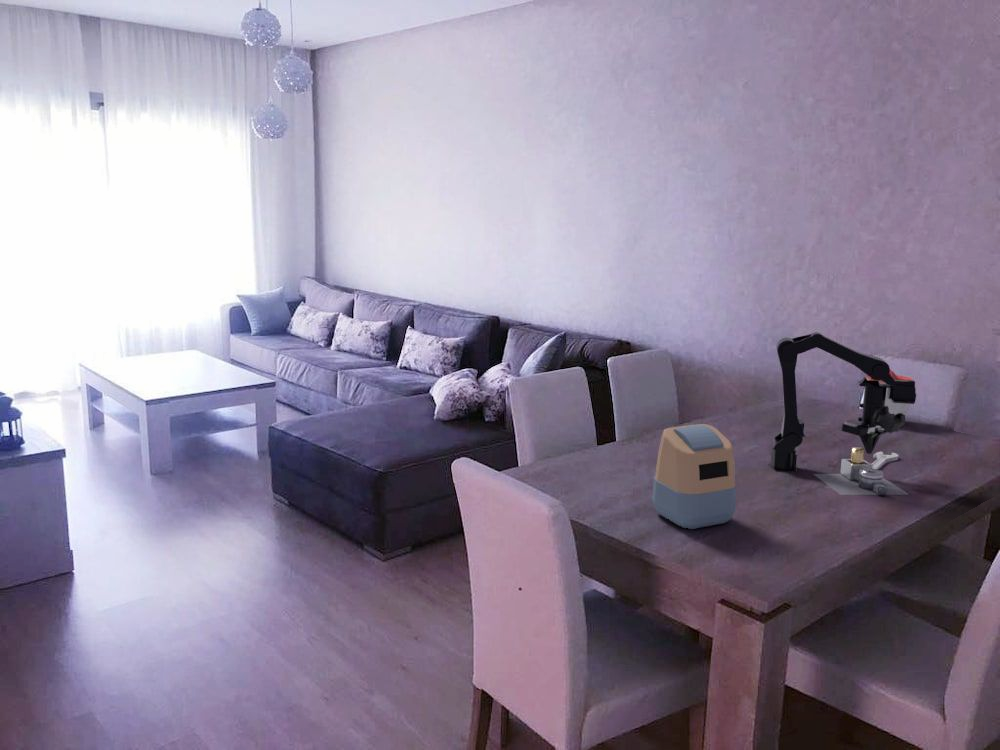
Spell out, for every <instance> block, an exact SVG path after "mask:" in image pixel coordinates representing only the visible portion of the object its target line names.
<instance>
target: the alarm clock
mask: <svg viewBox="0 0 1000 750" xmlns="http://www.w3.org/2000/svg"><path fill="white" fill-rule="evenodd" d="M659 443H660V444H659V447H658V453H657V461H656V468H655V475H654V477H653V486H652V499H651V502H652V505H653V507H654V508H653V509H655V510H656V511H657V513H658V514H659V515H660V516H661V517H663V518H665V519H667V520H668V519H669V521H670V522H672V523H674V524H675V525H677V526H679V527H680V526H681V527H680V528H684V529H686V528H688V529H687V530H695V529H698V528H699V529H700V528H704V527H710V526H714V525H716V526H717V525H723V524H725V523H727V522H729V521H730V520H731V519H732V518H733V516H734V513H735V511H736V498H737V494H736V493H737V485H736V479H735V478H736V475H735V474H736V473H735V471H736V470H735V454H734V449H733V444H732V443H731V441H730V440H729V439H728V438H727V437H726V436H724V435H723V434H722V432H720V431H719V430H718V429H717V428H716V427H714V426H713V425H710V424H706V423H698V424H697V423H696V424H690V425H682V426H681V425H680V426H673V427H668V428H664V430H663V431H662V433H661V438H660V442H659Z"/></svg>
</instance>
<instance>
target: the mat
mask: <svg viewBox="0 0 1000 750" xmlns="http://www.w3.org/2000/svg"><path fill="white" fill-rule="evenodd" d="M813 476H815V477H816V478H817V479H819V480H820V481H822V482H823V483H824V484H825V485H826V486H828V487H829V488H831V489H832V490H833V491H835V492H836V493H837V494H839V495H840V496H877V495H879V494H877V493H876V492H875V491H870V490H865V489H862V488H860V487H858V482H859V481H857V480H850V479H848V478H847V477H846V476H844V475H843V474H841V473H813ZM882 485H883V486H884V487H886V488H887V495H886V496H888V495H891V496H893V495H894V496H895V495H896V496H897V495H901V496H902V495H909V493H908V492H907V491H906V490H903V489H902V488H900V487H898V486H897V485H896V484H894V483H892V481H890V480H887V479H886V478H884V477H883V480H882ZM879 496H880V495H879Z"/></svg>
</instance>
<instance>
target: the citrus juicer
mask: <svg viewBox="0 0 1000 750" xmlns="http://www.w3.org/2000/svg"><path fill="white" fill-rule="evenodd" d="M890 375H891V376H892V377H893V378H894V380H914V379H913V378H910V377H907V376H903V375H897V374H896V373H895V372H894V371H893V370H892V369H890ZM865 377H866V379H867V380H874V379H872V378H871V377H870V376H868V375H867V374H866V376H865ZM878 381H879V383H881V384H886V383H885V382H883V381H882V380H878ZM887 392H888V388H887V389H886V399H885V406H888V408H889V413H891V414H895V415H896V414H898V413H902V414H904V415H905V419H906V418H907V415H908V413H909V410H910V405H911V404H904V403H892V402H891V399H888V397H887ZM895 415H894V416H895Z"/></svg>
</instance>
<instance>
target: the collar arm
mask: <svg viewBox="0 0 1000 750" xmlns="http://www.w3.org/2000/svg"><path fill="white" fill-rule="evenodd" d="M840 463H841V465H840V474H843V475H844V476H846V477H847V478H848V479H850V480H857V481H859V471H860V469H861V468H873V465H872V463H870V462H868V461H867V460H865V459H864V458H863V464H852V463H851V458H841V462H840ZM872 490H873V491H875V492H876V493H877V494H879V496H888V495H887V488H886V487H884V486H883V485H881V484H873V489H872Z"/></svg>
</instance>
